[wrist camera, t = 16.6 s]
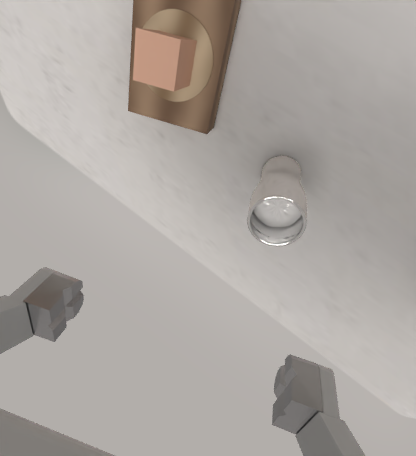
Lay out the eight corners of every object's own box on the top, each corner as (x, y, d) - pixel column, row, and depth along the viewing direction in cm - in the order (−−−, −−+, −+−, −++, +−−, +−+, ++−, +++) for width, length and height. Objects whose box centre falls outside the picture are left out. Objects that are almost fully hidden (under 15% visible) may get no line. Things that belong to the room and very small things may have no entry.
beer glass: (257, 193, 47) (244, 244, 35) (259, 151, 44) (246, 192, 31) (301, 196, 46) (303, 251, 34) (307, 153, 42) (313, 197, 30)
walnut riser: (242, -5, 35) (236, -12, 31) (213, 127, 44) (206, 134, 40) (149, -28, 36) (133, -37, 32) (140, 106, 45) (126, 111, 41)
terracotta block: (197, 40, 34) (180, 39, 29) (189, 85, 37) (174, 91, 32) (158, 30, 35) (135, 27, 30) (153, 75, 38) (132, 79, 33)
